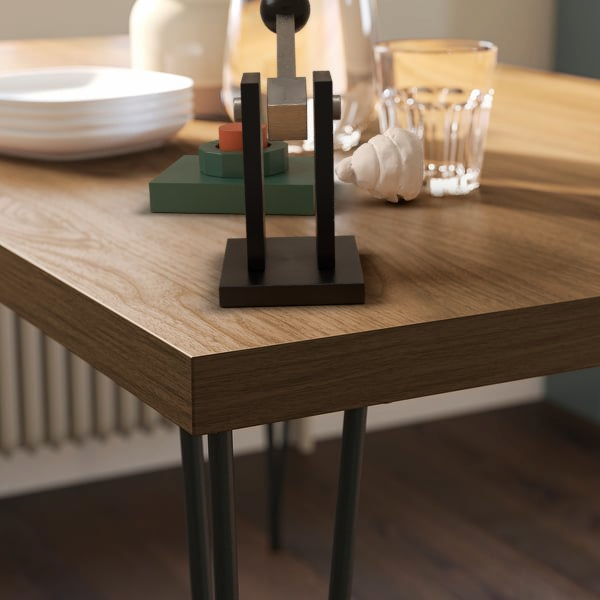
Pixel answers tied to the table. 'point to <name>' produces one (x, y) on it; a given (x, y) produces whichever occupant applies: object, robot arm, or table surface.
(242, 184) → the button block
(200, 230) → the table surface
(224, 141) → the button
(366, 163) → the spiral seashell
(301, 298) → the bracket
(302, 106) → the lever
